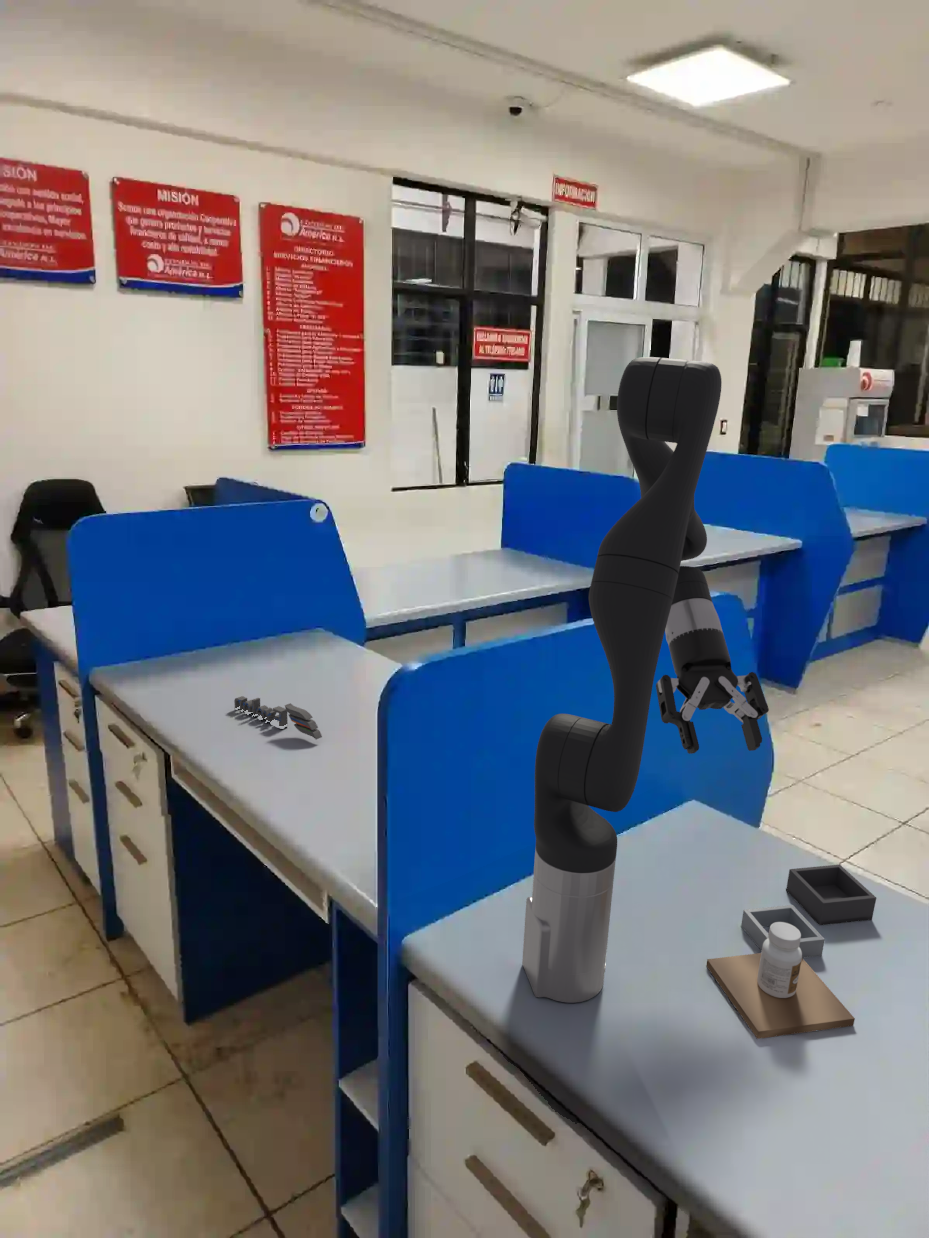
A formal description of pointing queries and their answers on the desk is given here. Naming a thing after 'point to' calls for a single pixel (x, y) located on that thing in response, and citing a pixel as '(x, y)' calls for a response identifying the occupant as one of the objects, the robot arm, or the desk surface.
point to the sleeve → (789, 914)
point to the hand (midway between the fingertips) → (724, 750)
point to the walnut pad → (778, 999)
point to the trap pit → (830, 894)
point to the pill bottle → (780, 961)
